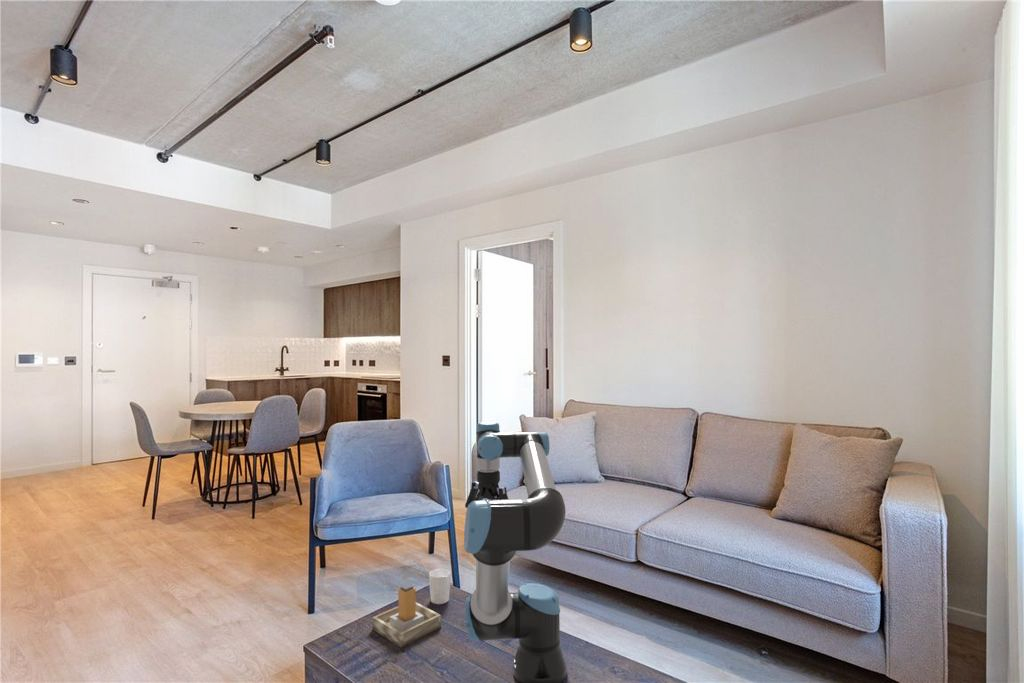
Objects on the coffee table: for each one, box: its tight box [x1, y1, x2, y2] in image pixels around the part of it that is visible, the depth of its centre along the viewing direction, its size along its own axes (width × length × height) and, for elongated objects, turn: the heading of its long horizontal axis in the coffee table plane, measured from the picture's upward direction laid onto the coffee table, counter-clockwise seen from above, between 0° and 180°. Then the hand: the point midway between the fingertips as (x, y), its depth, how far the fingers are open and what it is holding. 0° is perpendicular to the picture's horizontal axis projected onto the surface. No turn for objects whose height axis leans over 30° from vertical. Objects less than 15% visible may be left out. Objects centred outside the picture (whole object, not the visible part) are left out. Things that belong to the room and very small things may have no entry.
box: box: [371, 601, 442, 648], centre depth 170 cm, size 16×16×4 cm
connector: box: [397, 583, 417, 622], centre depth 170 cm, size 4×4×13 cm
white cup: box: [428, 568, 452, 605], centre depth 189 cm, size 8×8×10 cm
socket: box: [390, 612, 424, 632], centre depth 170 cm, size 8×8×3 cm
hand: (489, 535), depth 167 cm, fingers open, 13 cm apart
